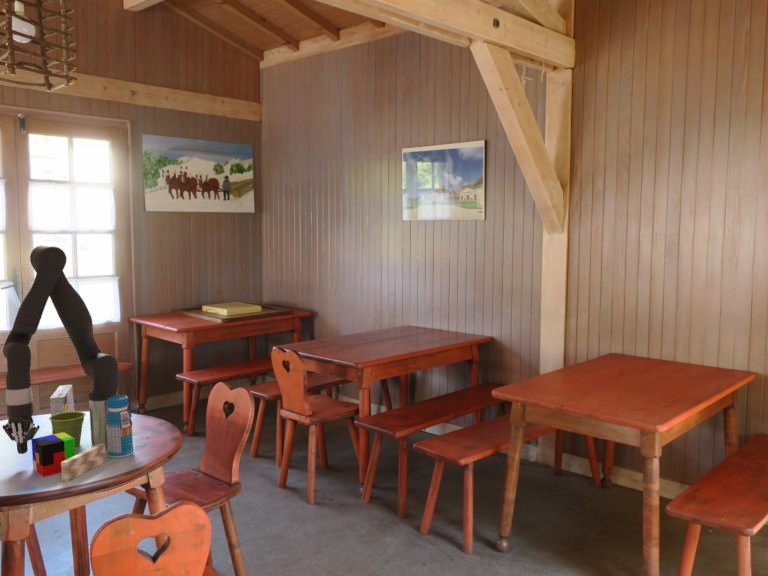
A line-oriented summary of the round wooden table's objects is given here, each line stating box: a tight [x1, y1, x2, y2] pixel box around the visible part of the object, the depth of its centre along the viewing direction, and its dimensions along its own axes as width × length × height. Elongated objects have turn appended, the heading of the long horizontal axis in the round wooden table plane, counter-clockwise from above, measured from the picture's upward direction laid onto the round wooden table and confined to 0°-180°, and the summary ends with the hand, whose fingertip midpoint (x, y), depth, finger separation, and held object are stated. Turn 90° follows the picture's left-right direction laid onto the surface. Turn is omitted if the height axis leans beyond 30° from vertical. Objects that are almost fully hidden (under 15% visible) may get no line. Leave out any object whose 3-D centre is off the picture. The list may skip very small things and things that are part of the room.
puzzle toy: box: [30, 432, 77, 477], centre depth 213 cm, size 10×10×10 cm
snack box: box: [49, 384, 76, 435], centre depth 257 cm, size 21×6×15 cm, turn 17°
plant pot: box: [48, 411, 86, 449], centre depth 235 cm, size 12×12×11 cm
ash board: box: [61, 444, 107, 483], centre depth 210 cm, size 18×2×6 cm, turn 166°
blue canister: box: [106, 395, 134, 459], centre depth 225 cm, size 8×8×20 cm
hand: (22, 453), depth 215 cm, fingers closed
